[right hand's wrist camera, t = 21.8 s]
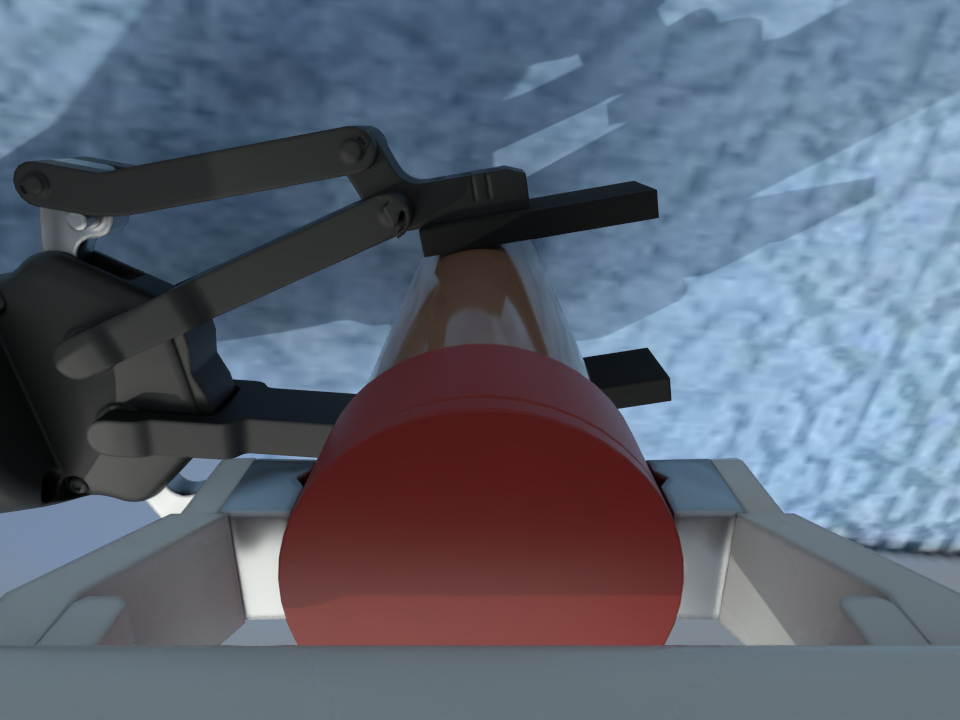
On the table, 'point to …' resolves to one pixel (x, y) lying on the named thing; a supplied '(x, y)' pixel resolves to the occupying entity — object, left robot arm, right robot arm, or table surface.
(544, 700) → the right robot arm
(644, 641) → the lid
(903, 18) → the table surface
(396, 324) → the brown bottle
